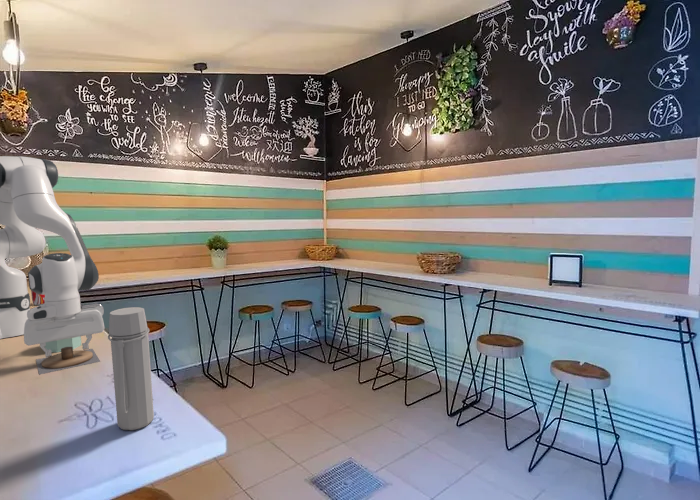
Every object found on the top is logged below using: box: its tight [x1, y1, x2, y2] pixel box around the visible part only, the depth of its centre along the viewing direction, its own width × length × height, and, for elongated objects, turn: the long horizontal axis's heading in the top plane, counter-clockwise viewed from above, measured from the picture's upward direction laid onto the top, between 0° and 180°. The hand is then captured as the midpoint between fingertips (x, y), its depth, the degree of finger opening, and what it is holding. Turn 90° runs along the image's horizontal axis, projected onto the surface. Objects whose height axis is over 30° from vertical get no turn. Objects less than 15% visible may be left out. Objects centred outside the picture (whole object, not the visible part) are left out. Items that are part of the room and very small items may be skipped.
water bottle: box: [107, 306, 155, 431], centre depth 91 cm, size 9×8×25 cm
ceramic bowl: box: [45, 336, 82, 353], centre depth 143 cm, size 10×10×6 cm
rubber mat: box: [35, 348, 101, 375], centre depth 131 cm, size 15×15×1 cm
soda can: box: [30, 290, 45, 306], centre depth 207 cm, size 7×7×12 cm
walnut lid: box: [41, 347, 93, 369], centre depth 130 cm, size 13×13×4 cm
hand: (67, 352), depth 130 cm, fingers open, 8 cm apart
